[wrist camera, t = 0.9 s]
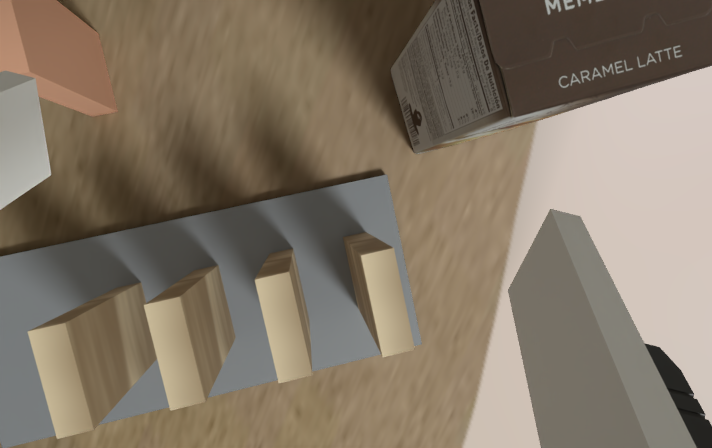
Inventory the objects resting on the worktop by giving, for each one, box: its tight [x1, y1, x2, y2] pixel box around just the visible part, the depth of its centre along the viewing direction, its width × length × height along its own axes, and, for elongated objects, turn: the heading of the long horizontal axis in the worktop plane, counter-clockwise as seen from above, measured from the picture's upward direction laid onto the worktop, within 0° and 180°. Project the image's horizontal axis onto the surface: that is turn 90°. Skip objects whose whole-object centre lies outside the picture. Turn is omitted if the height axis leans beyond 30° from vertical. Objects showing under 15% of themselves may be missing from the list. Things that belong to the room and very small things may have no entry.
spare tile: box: [0, 0, 118, 117], centre depth 25 cm, size 2×5×10 cm, turn 12°
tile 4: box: [255, 248, 312, 383], centre depth 27 cm, size 2×5×10 cm, turn 12°
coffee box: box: [391, 0, 712, 154], centre depth 25 cm, size 9×6×16 cm
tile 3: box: [144, 265, 236, 411], centre depth 27 cm, size 2×5×10 cm, turn 12°
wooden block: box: [343, 232, 415, 357], centre depth 28 cm, size 2×5×10 cm, turn 12°
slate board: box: [0, 175, 422, 448], centre depth 32 cm, size 12×28×1 cm, turn 102°
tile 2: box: [28, 282, 157, 439], centre depth 26 cm, size 2×5×10 cm, turn 12°
